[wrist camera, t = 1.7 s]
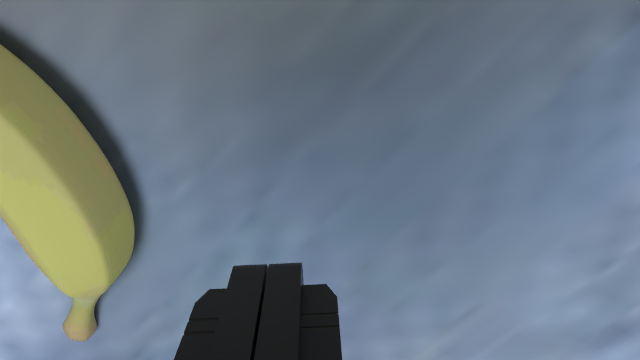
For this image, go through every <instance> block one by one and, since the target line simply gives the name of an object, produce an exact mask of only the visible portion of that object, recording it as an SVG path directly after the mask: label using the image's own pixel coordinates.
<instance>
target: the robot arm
mask: <svg viewBox="0 0 640 360" xmlns="http://www.w3.org/2000/svg"><path fill="white" fill-rule="evenodd" d="M174 360H342V353H341V340H340V329H339V316H338V303H337V296H336V295H335V294H334V293H333V292H332V290H331V289H330V288H329V287H328V286H327V284H319V285H304V284H303V268H302V263H285V264H269V267H268V266H267V264H264V265H241V266H234V267H233V269H232V273H231V276H230V280H229V283H228V287H227V289H209V290H208V291H207V292H206V293H205V294H204V295H203V296H202V297H201V298H200V299H199V300H198V301H197V302H196V303H195V305H194V307H193V310H192V313H191V315H190V318H189V322H188V323H187V326H186V329H185V331H184V335H183V337H182V339H181V342H180V345H179V347H178V350H177V353H176V355H175V358H174Z"/></svg>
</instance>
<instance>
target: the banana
mask: <svg viewBox="0 0 640 360" xmlns="http://www.w3.org/2000/svg"><path fill="white" fill-rule="evenodd" d="M0 216H1V217H2V219H3V220H4V222H5V223H6V224H7V226H8V227H9V228H10V230H11V231H12V233H13V234H14V236H15V237H16V238H17V240H18V241H19V243H20V244H21V246H22V247H23V248H24V250H25V251H26V253H27V254H28V255H29V257H30V258H31V259H32V261H33V262H34V263H35V264H36V265H37V267H38V268H39V269H40V270H41V271H42V272H43V273H44V274H45V275H46V276H47V277H48V278H49V279H50V281H51V282H52V283H53V284H54V285H55V286H56V287H57V288H58V289H59V290H61V291H62V292H63V293H64V294H66V295H67V296H70V297H72V299H73V305H72V308H71V311H70V312H69V314H68V316H67V318H66V320H65V321H64V323H63V330H64V332H65V333H66V335H67V336H68V337H69V338H70V339H72V340H76V341H85V340H87V339H89V338H90V337H91V336H92V335H93V334H94V332H95V331H96V329H97V323H96V320H95V316H94V308H95V304H96V302H97V300H98V299H99V297H100V296H101V294H103V293H104V292H105V291H107V290H108V288H109V287H110V286H111V285H112V284H113V283H114V281H115V280H116V279H117V278H118V276H119V275H120V274H121V272H122V271H123V269H124V268H125V267H126V265H127V263H128V261H129V260H130V257H131V255H132V252H133V247H134V235H135V230H134V220H133V215H132V211H131V208H130V205H129V202H128V199H127V197H126V195H125V192H124V190H123V188H122V186H121V184H120V182H119V180H118V178H117V176H116V174H115V172H114V170H113V168H112V167H111V165H110V163H109V161H108V160H107V158H106V157H105V155H104V153H103V152H102V150H101V149H100V147H99V146H98V144H97V143H96V142H95V140H94V139H93V138H92V136H91V135H90V133H89V132H88V131H87V129H86V128H85V127H84V125H83V124H82V123H81V121H80V120H79V119H78V118H77V116H76V115H75V114H74V113H73V111H72V110H71V109H70V108H69V107H68V106H67V104H66V103H65V102H64V101H63V100H62V99H61V98H60V97H59V96H58V95H57V94H56V93H55V92H54V91H53V89H52V88H51V87H50V86H48V85H47V84H46V83H45V82H44V81H43V80H42V79H41V78H40V77H39V76H38V75H37V74H36V73H35V72H34V71H33V70H32V69H30V68H29V67H28V66H27V65H26V64H25V63H23V62H22V61H21V60H20V59H19V58H17V57H16V56H15V55H14V54H12V53H11V52H10V51H8V50H7V49H6V48H4V47H3V46H2V45H0Z"/></svg>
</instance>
